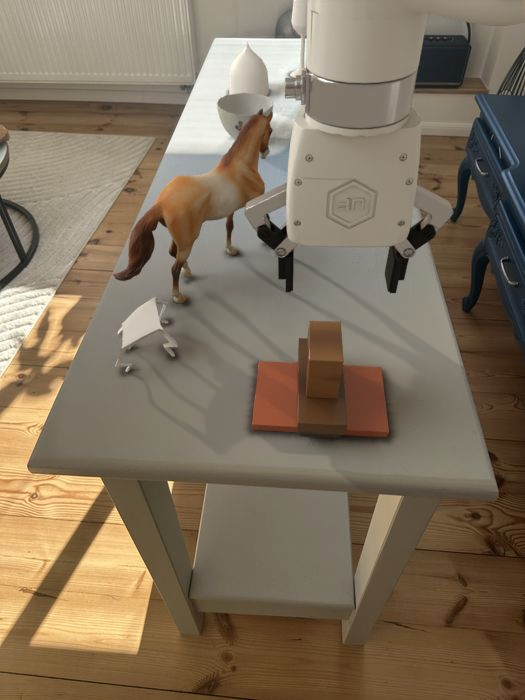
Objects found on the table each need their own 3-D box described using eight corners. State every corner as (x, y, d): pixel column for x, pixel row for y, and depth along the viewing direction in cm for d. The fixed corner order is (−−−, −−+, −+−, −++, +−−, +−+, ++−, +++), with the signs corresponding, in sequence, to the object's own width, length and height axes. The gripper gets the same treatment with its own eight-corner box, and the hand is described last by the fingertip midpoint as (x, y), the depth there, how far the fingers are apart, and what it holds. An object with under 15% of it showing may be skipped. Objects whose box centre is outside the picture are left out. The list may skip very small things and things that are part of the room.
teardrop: (273, 97, 128) (273, 46, 120) (233, 102, 127) (230, 50, 118) (264, 83, 136) (263, 33, 127) (225, 87, 134) (222, 37, 125)
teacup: (273, 150, 108) (273, 113, 102) (217, 150, 108) (214, 113, 102) (273, 122, 118) (273, 87, 112) (222, 122, 118) (219, 87, 112)
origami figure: (177, 375, 64) (172, 350, 60) (114, 376, 64) (105, 351, 60) (187, 313, 72) (182, 288, 68) (131, 314, 72) (124, 288, 68)
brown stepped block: (297, 356, 64) (301, 299, 57) (338, 357, 64) (347, 300, 56) (296, 440, 55) (300, 386, 48) (343, 442, 55) (354, 388, 48)
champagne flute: (302, 68, 143) (306, -33, 125) (317, 74, 140) (324, -30, 122) (285, 74, 140) (287, -30, 123) (300, 80, 137) (305, -26, 119)
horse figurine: (265, 222, 88) (264, 104, 73) (296, 240, 84) (302, 119, 69) (120, 304, 73) (81, 177, 58) (150, 329, 70) (116, 200, 55)
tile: (380, 372, 63) (381, 366, 63) (387, 437, 57) (389, 432, 56) (259, 366, 65) (259, 360, 64) (252, 430, 58) (252, 424, 57)
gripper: (231, 117, 32) (247, 308, 45) (499, 113, 31) (438, 311, 43) (241, 78, 37) (253, 259, 50) (471, 73, 36) (424, 260, 48)
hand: (339, 283), depth 47 cm, fingers open, 9 cm apart
